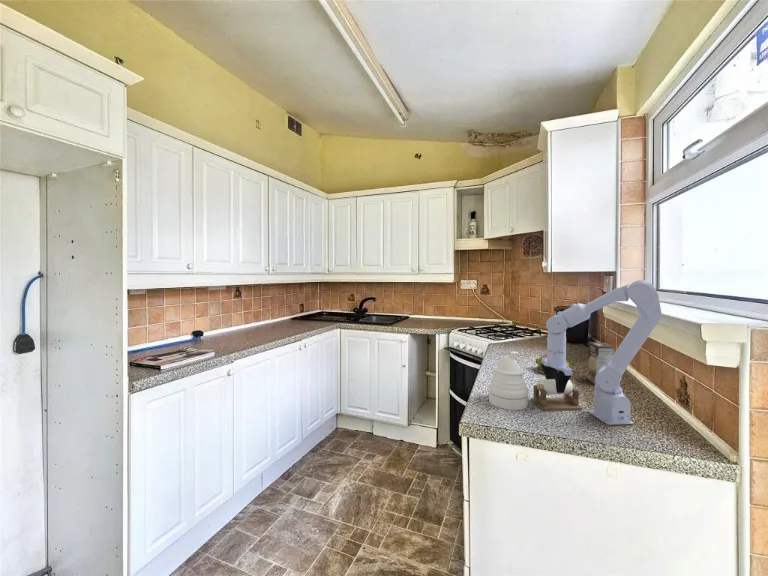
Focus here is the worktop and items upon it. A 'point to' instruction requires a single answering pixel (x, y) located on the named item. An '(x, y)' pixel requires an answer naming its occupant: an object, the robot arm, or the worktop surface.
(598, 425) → the worktop surface
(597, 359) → the coffee box
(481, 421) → the worktop surface
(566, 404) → the holder
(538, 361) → the food
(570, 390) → the paper roll
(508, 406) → the honey pot
